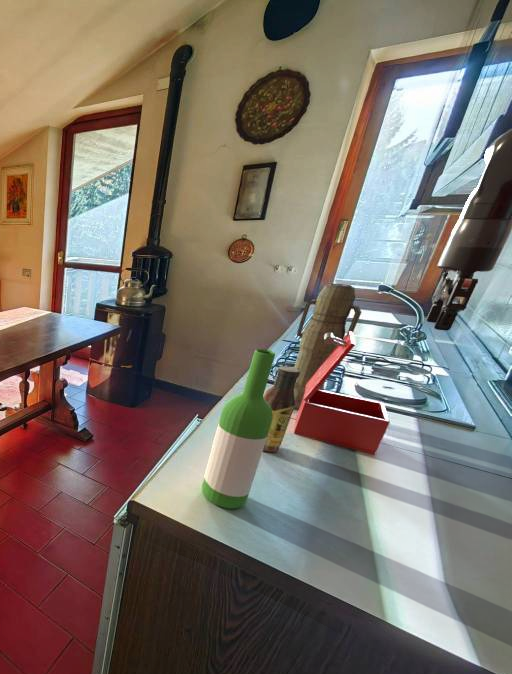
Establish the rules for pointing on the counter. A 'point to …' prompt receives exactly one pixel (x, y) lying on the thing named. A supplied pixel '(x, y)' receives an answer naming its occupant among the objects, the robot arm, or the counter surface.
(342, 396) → the red box
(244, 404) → the wine bottle
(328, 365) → the red box lid
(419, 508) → the counter surface
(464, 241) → the robot arm
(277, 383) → the sauce bottle
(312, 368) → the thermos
